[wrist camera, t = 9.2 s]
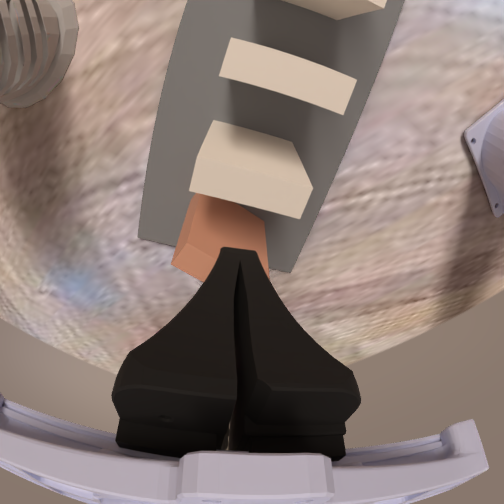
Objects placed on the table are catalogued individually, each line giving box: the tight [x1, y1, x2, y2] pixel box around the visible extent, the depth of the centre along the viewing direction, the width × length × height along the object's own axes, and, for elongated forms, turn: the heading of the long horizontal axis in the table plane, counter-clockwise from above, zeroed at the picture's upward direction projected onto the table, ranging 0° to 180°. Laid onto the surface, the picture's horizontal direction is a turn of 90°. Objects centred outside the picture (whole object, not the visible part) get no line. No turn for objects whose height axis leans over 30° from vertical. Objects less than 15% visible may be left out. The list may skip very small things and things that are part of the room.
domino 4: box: [171, 193, 270, 282], centre depth 19 cm, size 2×5×7 cm, turn 52°
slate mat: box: [138, 0, 404, 273], centre depth 16 cm, size 28×12×1 cm, turn 163°
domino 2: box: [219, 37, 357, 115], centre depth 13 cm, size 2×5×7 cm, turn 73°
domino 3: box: [189, 120, 313, 219], centre depth 16 cm, size 2×5×7 cm, turn 73°
